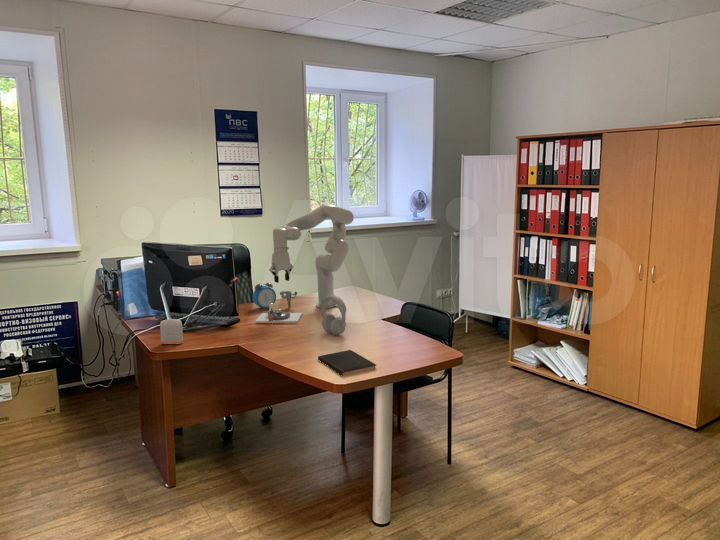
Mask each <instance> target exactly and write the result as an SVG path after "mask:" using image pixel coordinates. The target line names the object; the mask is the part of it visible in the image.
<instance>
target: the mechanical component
mask: <svg viewBox="0 0 720 540" xmlns="http://www.w3.org/2000/svg"><path fill="white" fill-rule="evenodd" d="M279 295H280V296H281V298H282V299H286V301H287V309H291V301H292V299H295V298H296V297H297V295H298V291H294V292H293V293H292V291H290V290H289V291H288V290H287V291H286V290H285V291H283V290H282V291H280V292H279Z"/></svg>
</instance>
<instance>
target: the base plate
mask: <svg viewBox="0 0 720 540" xmlns="http://www.w3.org/2000/svg"><path fill="white" fill-rule="evenodd" d="M289 313H290V317H288V318H285V319H273V318H272V315H269V318H268V312H266V313H264V312H263V313H261V314H260V315H259V316H258V317H257V318H256V320H255V321H254V322H255V323H272V324H271V325H274V324H273V323H285V324H286V325H289V324H290V325H291V324H293V325H295V324H297V325H298V324H299V323H300V320H301V319H302V317H303V313H302V312H289ZM300 318H301V319H300Z"/></svg>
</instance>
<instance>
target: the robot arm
mask: <svg viewBox="0 0 720 540" xmlns="http://www.w3.org/2000/svg"><path fill="white" fill-rule="evenodd" d="M354 219H355V216H354V214H353V212H352V211H351V210H349V209H346V208H342V207H340V206H336V205H334V204H322V205H320V206H318V207H316V208H315V209H313V210H312V211H310V212H308V213H307V214H305V215H304V216H300V217H299V218H296V219H294V220H292V221H289V222H288V223H286V224H285V225H283V226H282V227H278V228H277V227H276V228H274V229H272V241H273V252H272V255H271V266H270V268H269V269H268V271H269V272H270V273H271V274H272V275H273V276H274V277H273V279H274V283H279V281H280V280H279V271H284V272H285V273H284V276H285V277H284V280H285V281H287V282H289V281H290V274H291V272H292V270H293V268H294V265H293V264H292V263H291V259H290V258H291V257H290V253H289V252H288V250H289V249H290V248H289V247H288V241H297V240H299V239H300V238H301V236H302V232H301V231H305V230H311V229H314V228H315V227H317V226H319V225H320V224H321V223H323V222H325V221H326V220H331V224H332V231H331V232H330V235H329V238H328V239H327V242H326V243H325V245H324V249H325V250H324V251H325V252H326V253H327V254H325V253H322V254H319V255H317V257H316V258H315V260H314V263H315V269H316V276H317V277H316V278H317V292H318V293H317V299H318V301H317V303H315V307H317V308H320V309H321V301H322V300H323V299H324V298H325V297H326V296H329V295H335V292H334V291H335V290H334V275H333V274H334V273H335V272H337V271H339V270H340V268H341V267H342V266H343V263H344V261H345V259H346V257H347V255H348V253H349V243H348V242H347V241H346V240H345V238H346V235H347V227H346V225H350V224H352V223H353V222H354ZM334 306H335V307H337V304H336V303H335V302H334V301H333V300H332V299H330V300H329V301H328V303H327V305H326V307H325V309H330V308H334Z"/></svg>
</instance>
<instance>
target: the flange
mask: <svg viewBox="0 0 720 540" xmlns="http://www.w3.org/2000/svg"><path fill="white" fill-rule="evenodd" d="M268 309H269V311H267V313H268V318H269V315H272V318H273V319H285V318H288V317H290V313H291V312H288V311H283V309H282V308H276V309H275V310H274V304H273V303H269V308H268Z"/></svg>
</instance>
